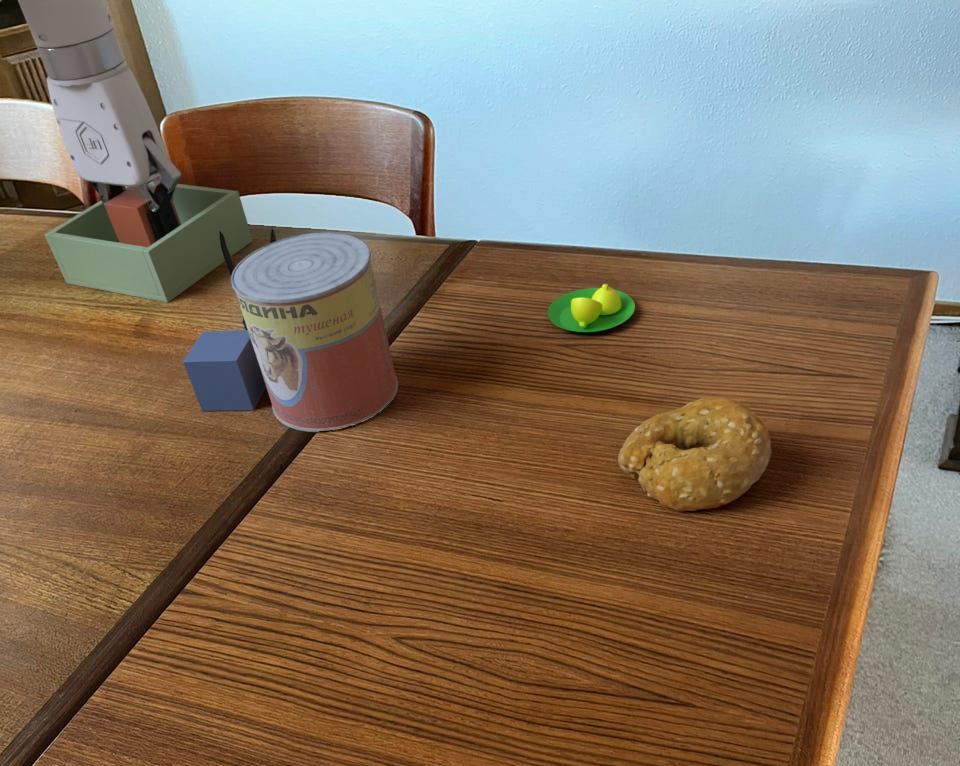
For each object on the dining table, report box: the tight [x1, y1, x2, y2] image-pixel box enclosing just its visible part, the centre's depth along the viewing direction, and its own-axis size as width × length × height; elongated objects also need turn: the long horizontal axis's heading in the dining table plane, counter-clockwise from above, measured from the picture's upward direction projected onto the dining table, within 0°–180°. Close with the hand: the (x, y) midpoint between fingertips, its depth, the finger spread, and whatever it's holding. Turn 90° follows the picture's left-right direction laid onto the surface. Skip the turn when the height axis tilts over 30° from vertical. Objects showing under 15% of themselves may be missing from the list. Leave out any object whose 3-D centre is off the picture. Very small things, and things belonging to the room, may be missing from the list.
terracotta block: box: [104, 186, 181, 248], centre depth 106 cm, size 5×5×5 cm
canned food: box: [230, 232, 399, 433], centre depth 81 cm, size 11×11×12 cm
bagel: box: [617, 396, 772, 512], centre depth 70 cm, size 10×11×5 cm
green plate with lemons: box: [547, 283, 636, 333], centre depth 88 cm, size 8×8×3 cm
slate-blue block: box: [182, 329, 267, 412], centre depth 86 cm, size 5×5×5 cm
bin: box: [44, 181, 254, 303], centre depth 107 cm, size 16×15×6 cm
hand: (151, 237), depth 107 cm, fingers closed on terracotta block, 5 cm apart
